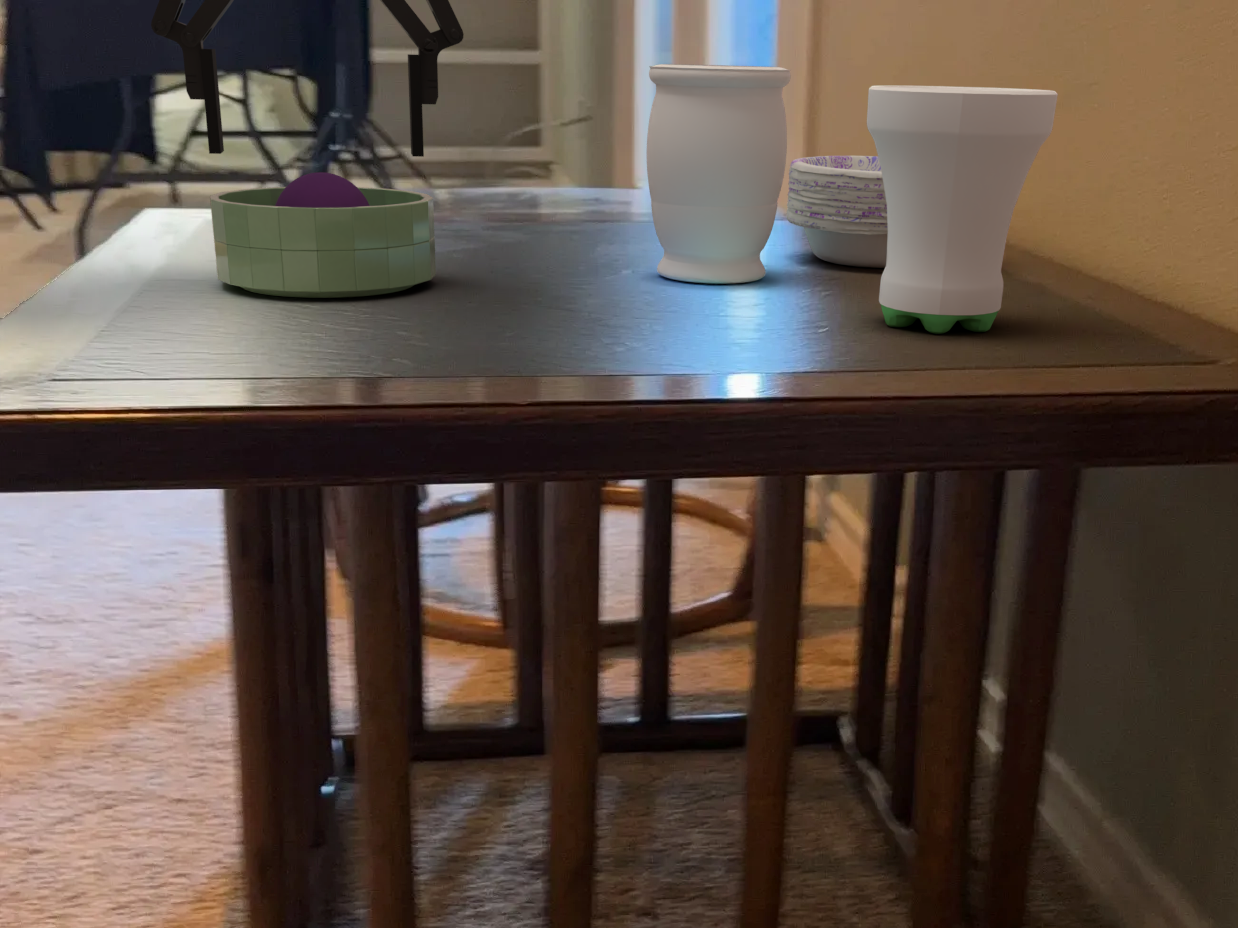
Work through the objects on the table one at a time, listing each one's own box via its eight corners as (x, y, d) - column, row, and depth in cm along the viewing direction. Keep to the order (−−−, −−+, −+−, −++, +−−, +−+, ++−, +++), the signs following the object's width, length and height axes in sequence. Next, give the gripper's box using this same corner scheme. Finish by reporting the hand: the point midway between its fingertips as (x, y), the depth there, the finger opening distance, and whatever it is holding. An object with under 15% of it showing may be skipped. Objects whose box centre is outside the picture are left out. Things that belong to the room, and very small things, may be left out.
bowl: (173, 291, 95) (163, 199, 92) (293, 263, 108) (287, 182, 106) (370, 308, 90) (364, 212, 88) (469, 276, 104) (467, 192, 101)
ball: (257, 278, 97) (248, 173, 94) (310, 265, 103) (303, 166, 100) (345, 285, 95) (339, 178, 92) (394, 271, 101) (389, 170, 98)
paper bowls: (932, 280, 107) (943, 172, 104) (754, 262, 114) (759, 161, 110) (989, 258, 119) (1000, 161, 116) (825, 244, 126) (831, 152, 123)
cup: (1022, 314, 93) (1051, 88, 88) (1031, 345, 83) (1065, 92, 78) (854, 305, 95) (873, 84, 90) (843, 334, 85) (864, 86, 80)
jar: (625, 268, 109) (629, 62, 103) (746, 265, 112) (757, 65, 106) (670, 289, 100) (677, 65, 94) (801, 285, 103) (815, 68, 97)
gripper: (78, -225, 82) (121, 154, 90) (499, -199, 86) (503, 160, 95) (99, -204, 88) (137, 147, 97) (488, -181, 93) (492, 152, 101)
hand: (318, 154), depth 96 cm, fingers open, 13 cm apart
